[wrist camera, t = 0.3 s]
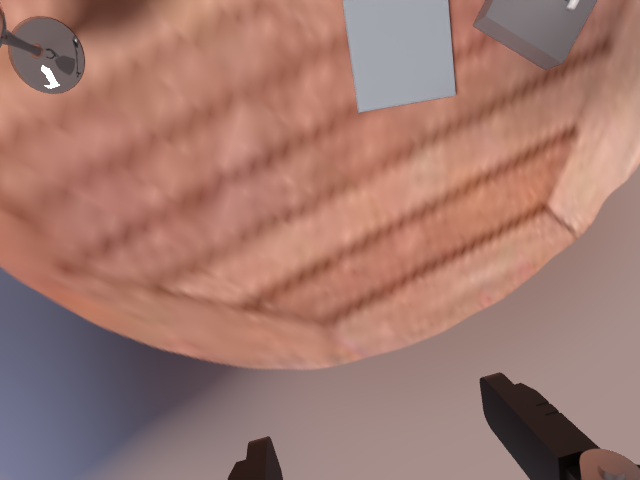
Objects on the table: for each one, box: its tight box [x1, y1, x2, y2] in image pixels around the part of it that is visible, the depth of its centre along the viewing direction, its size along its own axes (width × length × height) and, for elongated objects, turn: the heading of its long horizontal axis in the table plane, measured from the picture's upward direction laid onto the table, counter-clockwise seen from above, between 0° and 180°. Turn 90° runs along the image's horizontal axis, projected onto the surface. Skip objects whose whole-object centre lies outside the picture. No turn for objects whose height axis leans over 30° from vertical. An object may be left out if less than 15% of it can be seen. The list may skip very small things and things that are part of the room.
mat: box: [343, 0, 456, 113], centre depth 37 cm, size 11×11×1 cm
